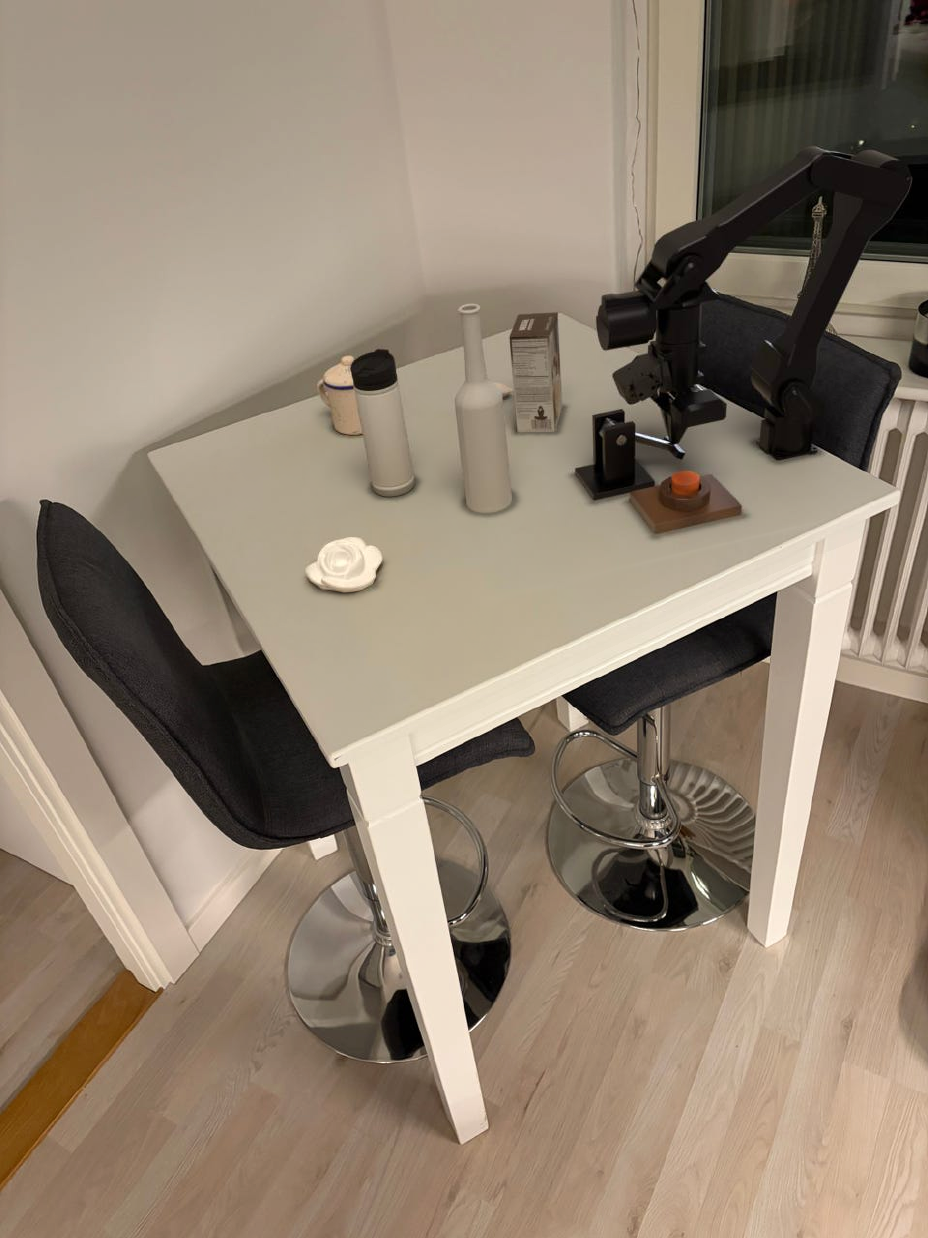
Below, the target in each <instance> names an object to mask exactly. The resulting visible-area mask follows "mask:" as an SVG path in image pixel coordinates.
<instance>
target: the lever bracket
mask: <svg viewBox="0 0 928 1238" xmlns="http://www.w3.org/2000/svg"><path fill="white" fill-rule="evenodd" d="M625 414H626V412H625V410H624V409H623V408H620V409H615V410H609V411H606V412H605V411H604V412H601V413H595V414H592V415H591V416H592V418H591V419H592V420H591V421H592V422H591V423H592V458H593V459H592V460H593V461H592V462H593V464H589V465H584V466H580V467H576V468H574V474H575V477H577V479H578V480H579V482H580V483H581V485H582V486H583V488H584V489H585V490H586V492H587V493H588V495H589V497H590V498H591V499H592V500H593V501H599V500H604V499H609V498H613V497H617V496H622V495H626V494H630V492H632V491H636V490H641V489H645V488H650V487H654V486H656V481H655V479H654V478H653V477H652V476H651V474H650V473H648V471H647V470H646V468H644V466H643V465H642V463H640V462H639V460H638V459H637V458H636V442H635V433H636V422H634V420H630V421H626V415H625ZM606 418H609V419H612V420H616V421H619V422H623V423H621V424H616V425H612V426H607V427H603V428H602V426H603V424H604V422H605V419H606ZM601 428H602V431H603V437H602V436H601V435H600V434H599V432H600V430H601Z"/></svg>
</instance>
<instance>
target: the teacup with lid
mask: <svg viewBox="0 0 928 1238" xmlns="http://www.w3.org/2000/svg"><path fill="white" fill-rule="evenodd" d="M354 360H355V358H354V357H353V356H352V355H344V356H343V357H342V358H341V362H339V363H338V364H337V365H336V364H335V365H334V366H331V367H330V368H329V369H328V370H326V371H325V372H324V374H323V377H322V378H321V379H320V380H319V381H318V382H317V383H316V384H317V385H316V390H317V394H318V396H319V398H320V400H321V401H322V403H324V404H325V405H326V406H327V407H329V408H330V413H331V416H332V422H333V426H334V429H335V430H336V431H337V432H338V433H341V434H342V435H348V436H354V435H355V436H357V435H358V436H359V435H363V433H362V428H361V423H360V418H359V413H358V408H357V402H356V397H355V392H354V387H353V379H352V375H351V369H350V366H351V364H352V362H353V361H354ZM324 386H325V388H326V391H325V388H324Z"/></svg>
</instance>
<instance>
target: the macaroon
mask: <svg viewBox="0 0 928 1238" xmlns="http://www.w3.org/2000/svg"><path fill="white" fill-rule="evenodd" d="M492 383H493V384H494V385H495V386H496V387H497V388H498V389H499V390H500V392H501V393H502V398H503V399H504V398H505V397H506V396H508V395H509V394H511V393H513V392H514V389H512V388H511V387H509V386H507V385H505V384H504V383H500V382H496V381H495V382H494V381H493V382H492Z"/></svg>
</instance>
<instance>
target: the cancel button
mask: <svg viewBox="0 0 928 1238" xmlns="http://www.w3.org/2000/svg"><path fill="white" fill-rule="evenodd" d="M671 476H672V481H671V490H672V492H674V493H676V494H679V495H690V494H695V493H697V492H698V491H699V481H700V477H699V476H700V475H699V474H698V473H697V472H694V471H690V470H680V471H677V472H675V473H674V474H673V475H671Z"/></svg>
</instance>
